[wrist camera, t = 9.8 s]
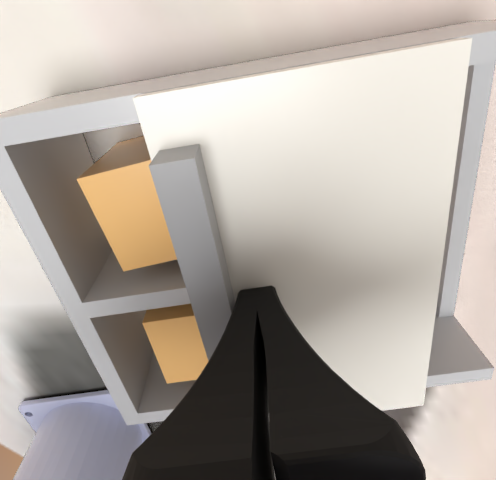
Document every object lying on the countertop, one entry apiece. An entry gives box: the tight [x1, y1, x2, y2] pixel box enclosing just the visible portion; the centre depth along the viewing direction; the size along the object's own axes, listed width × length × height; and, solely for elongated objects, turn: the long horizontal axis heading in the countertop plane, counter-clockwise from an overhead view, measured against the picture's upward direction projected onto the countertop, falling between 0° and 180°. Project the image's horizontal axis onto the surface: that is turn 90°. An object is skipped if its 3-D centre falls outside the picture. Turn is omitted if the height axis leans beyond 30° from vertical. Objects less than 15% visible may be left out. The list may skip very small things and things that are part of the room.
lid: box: [133, 38, 472, 411], centre depth 13 cm, size 15×9×2 cm, turn 9°
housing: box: [0, 20, 496, 425], centre depth 16 cm, size 15×18×6 cm
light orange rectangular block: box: [77, 136, 177, 272], centre depth 15 cm, size 4×4×5 cm
